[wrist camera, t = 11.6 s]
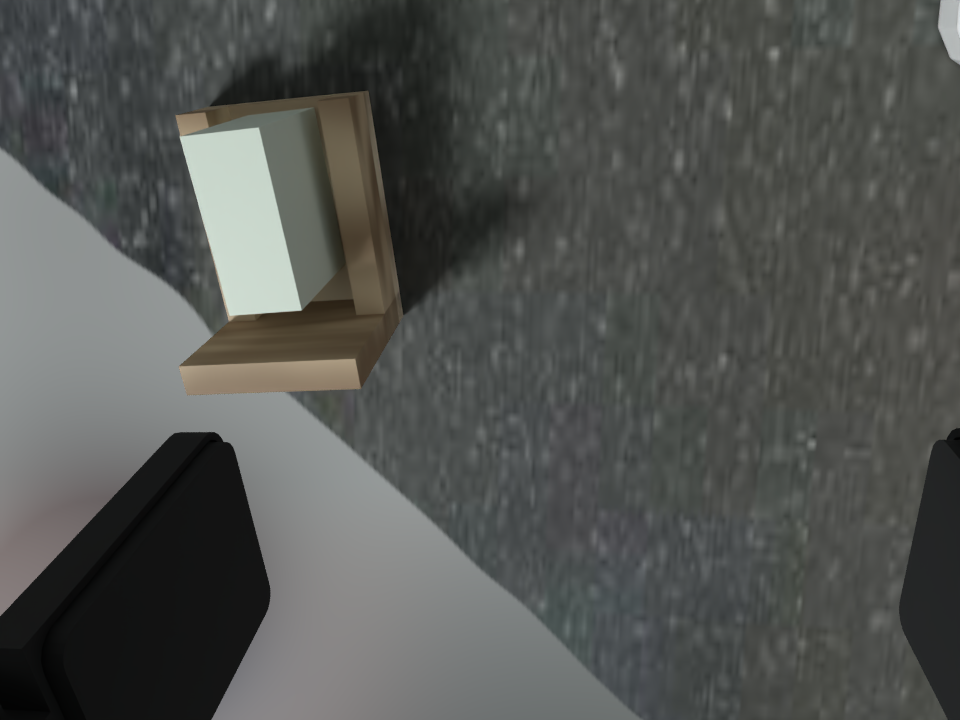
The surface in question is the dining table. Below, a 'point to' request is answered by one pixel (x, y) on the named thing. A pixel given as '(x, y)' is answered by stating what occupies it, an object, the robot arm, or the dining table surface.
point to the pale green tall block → (266, 209)
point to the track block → (343, 300)
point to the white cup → (950, 27)
